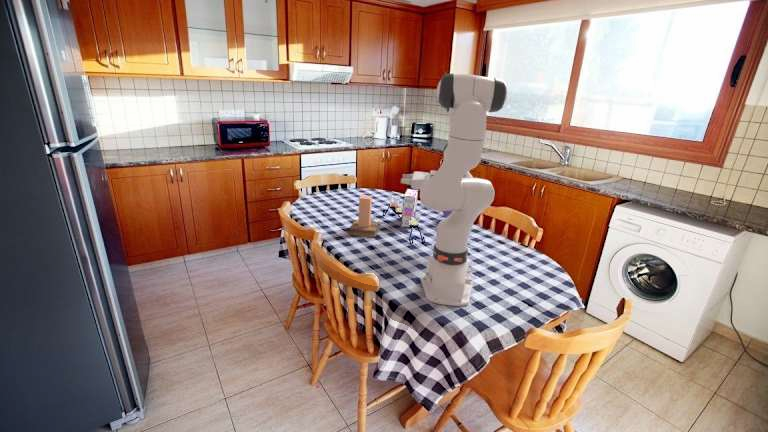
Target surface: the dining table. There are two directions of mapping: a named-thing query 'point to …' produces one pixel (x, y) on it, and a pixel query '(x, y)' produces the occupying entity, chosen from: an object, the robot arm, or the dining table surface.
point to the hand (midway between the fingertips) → (401, 178)
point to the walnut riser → (364, 229)
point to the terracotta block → (365, 211)
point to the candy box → (409, 206)
